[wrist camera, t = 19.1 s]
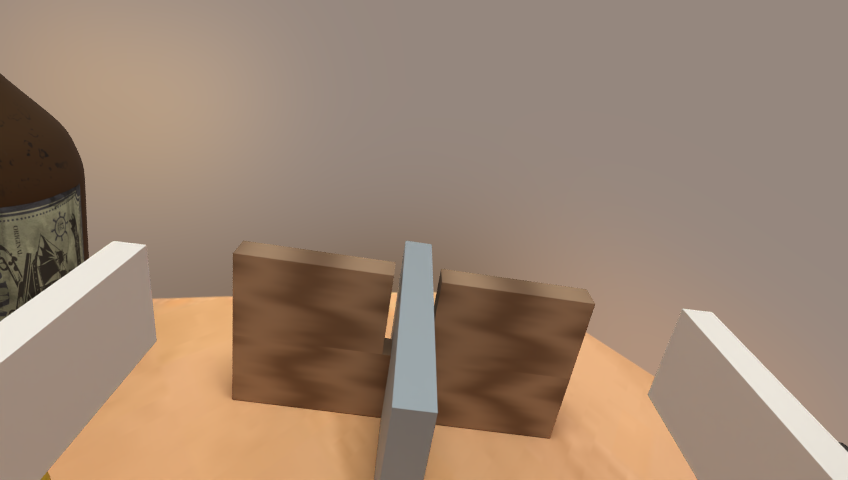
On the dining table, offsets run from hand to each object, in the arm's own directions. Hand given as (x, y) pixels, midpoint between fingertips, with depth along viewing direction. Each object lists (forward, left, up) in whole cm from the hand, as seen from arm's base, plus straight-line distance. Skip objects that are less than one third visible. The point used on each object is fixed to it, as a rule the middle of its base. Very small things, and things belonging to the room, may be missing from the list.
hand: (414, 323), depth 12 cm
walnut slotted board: (-9, -17, -20) cm, 28 cm away
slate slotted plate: (-7, -13, -20) cm, 25 cm away
